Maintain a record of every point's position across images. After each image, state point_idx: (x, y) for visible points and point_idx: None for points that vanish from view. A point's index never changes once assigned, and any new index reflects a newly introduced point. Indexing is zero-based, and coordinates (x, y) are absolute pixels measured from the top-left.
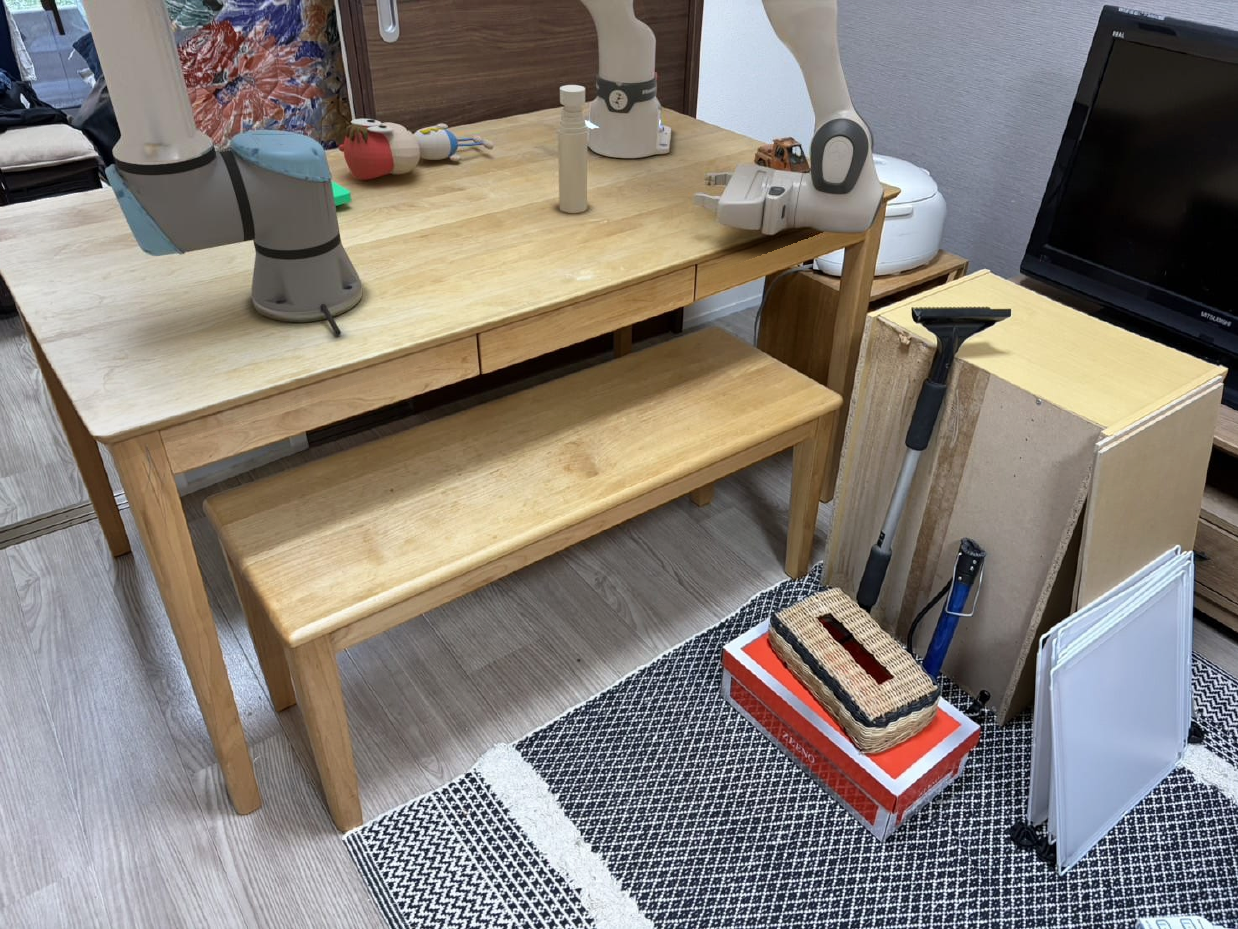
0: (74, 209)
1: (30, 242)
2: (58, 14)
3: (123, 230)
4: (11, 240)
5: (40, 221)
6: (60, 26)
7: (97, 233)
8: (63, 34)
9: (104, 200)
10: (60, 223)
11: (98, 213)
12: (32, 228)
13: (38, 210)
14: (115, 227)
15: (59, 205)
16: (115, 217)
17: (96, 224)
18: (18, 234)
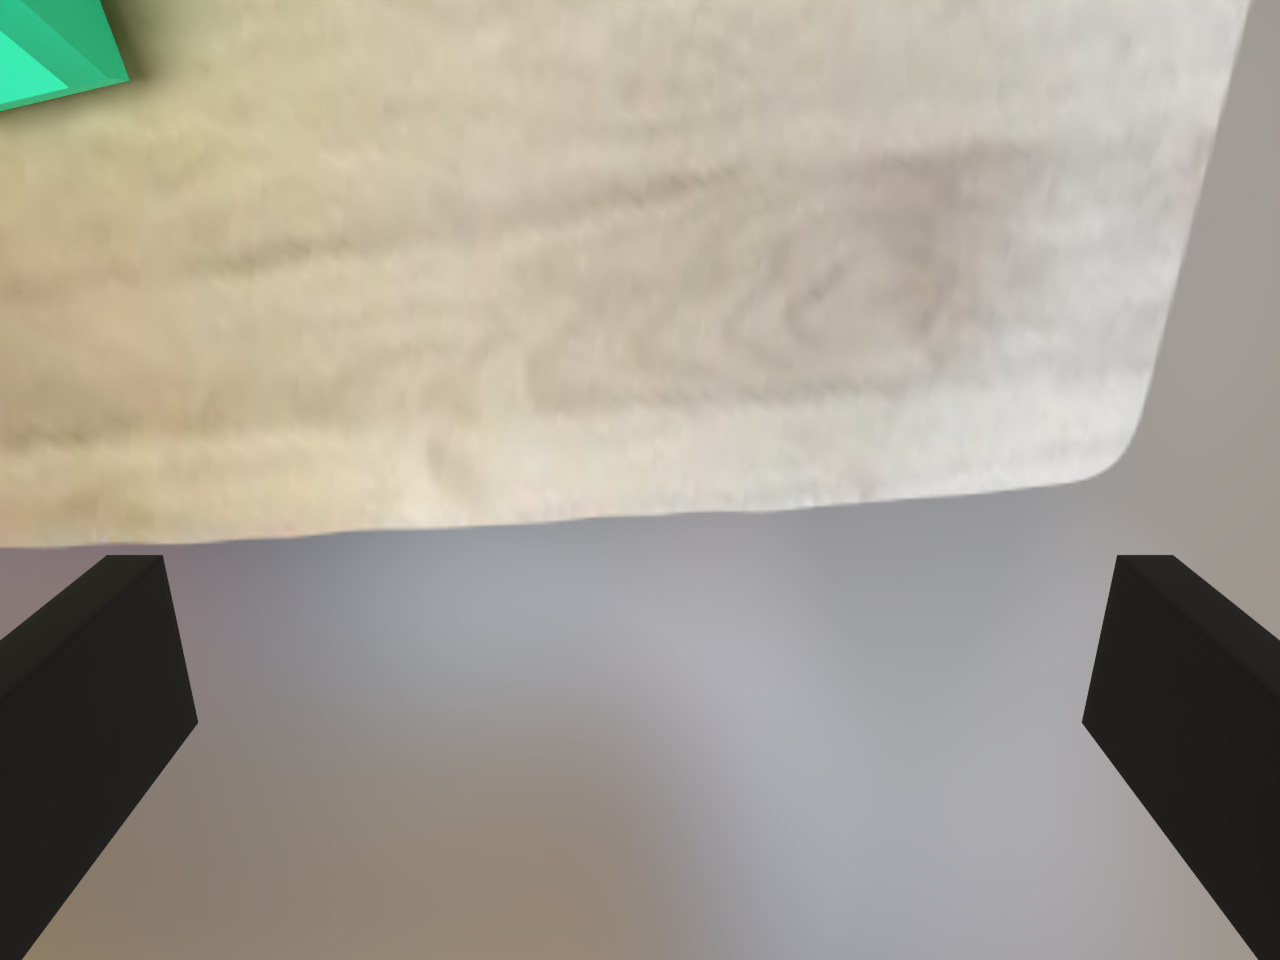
0: (940, 351)
1: (1167, 56)
2: (1263, 677)
3: (824, 13)
4: (1219, 116)
5: (1076, 278)
6: (1194, 599)
7: (922, 29)
8: (1141, 557)
9: (823, 398)
10: (1019, 220)
11: (871, 265)
12: (1120, 214)
13: (1053, 400)
14: (846, 67)
15: (977, 418)
16: (823, 187)
17: (904, 141)
18: (1180, 172)
